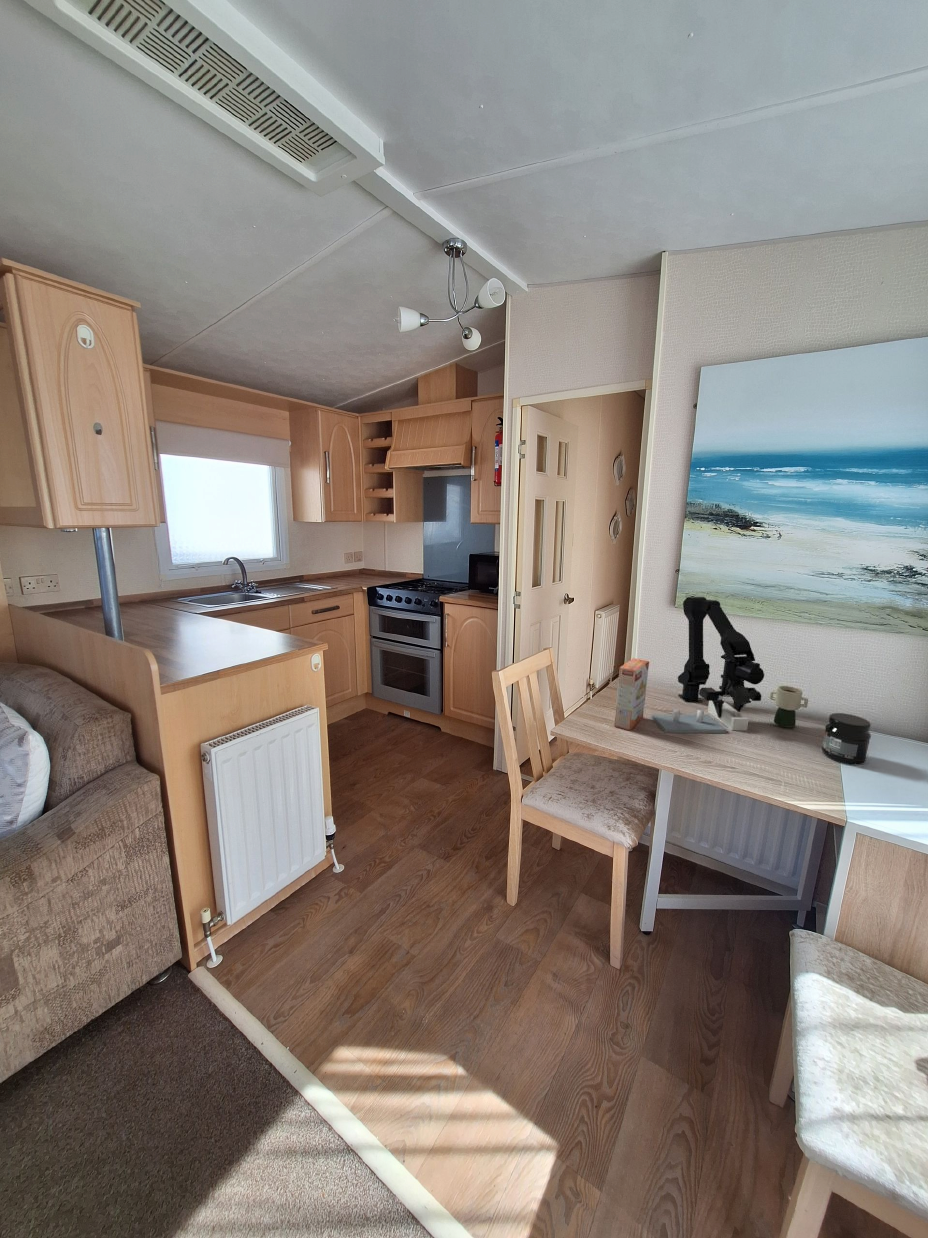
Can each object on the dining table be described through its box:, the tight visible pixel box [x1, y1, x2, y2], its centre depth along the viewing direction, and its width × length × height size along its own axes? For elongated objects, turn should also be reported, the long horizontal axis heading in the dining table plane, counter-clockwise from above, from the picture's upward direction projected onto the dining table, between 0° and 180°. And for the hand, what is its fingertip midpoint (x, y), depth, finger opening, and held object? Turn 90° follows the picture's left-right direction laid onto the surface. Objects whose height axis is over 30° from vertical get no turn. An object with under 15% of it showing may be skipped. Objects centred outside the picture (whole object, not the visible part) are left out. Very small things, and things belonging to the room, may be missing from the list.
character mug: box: [769, 685, 809, 728], centre depth 165 cm, size 11×7×13 cm, turn 45°
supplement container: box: [821, 712, 872, 765], centre depth 143 cm, size 10×10×12 cm
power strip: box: [707, 701, 749, 731], centre depth 169 cm, size 5×16×4 cm, turn 1°
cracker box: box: [613, 658, 650, 731], centre depth 165 cm, size 14×6×21 cm, turn 143°
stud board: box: [650, 709, 727, 734], centre depth 165 cm, size 12×20×5 cm, turn 91°
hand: (726, 717), depth 169 cm, fingers closed on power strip, 5 cm apart
